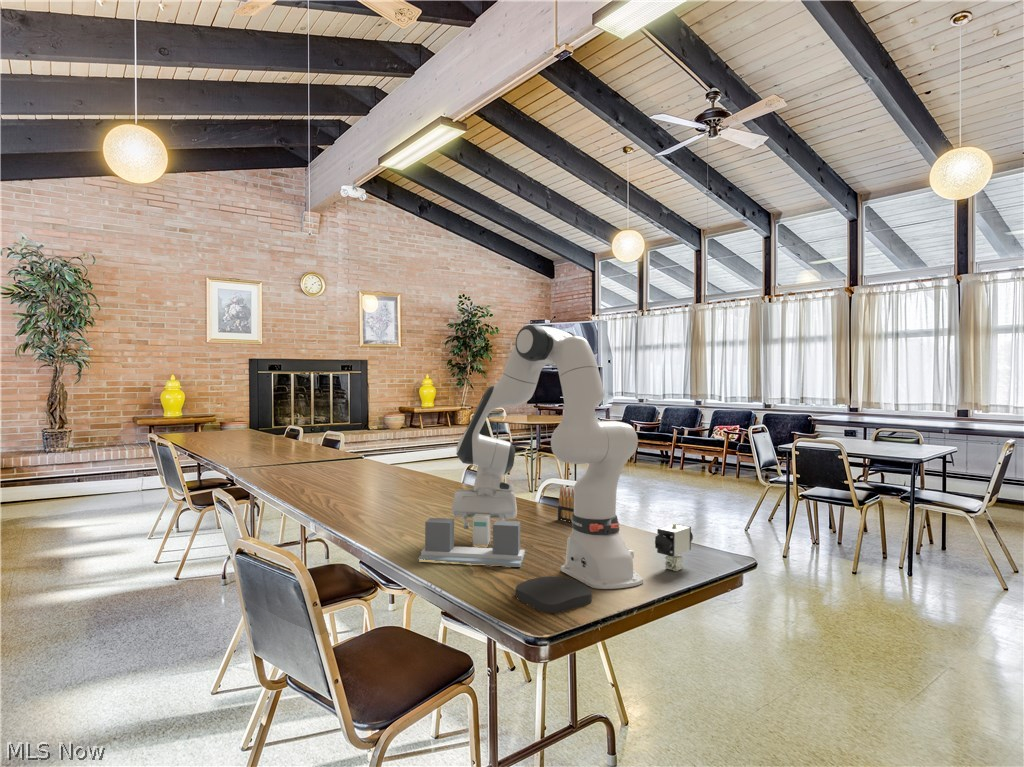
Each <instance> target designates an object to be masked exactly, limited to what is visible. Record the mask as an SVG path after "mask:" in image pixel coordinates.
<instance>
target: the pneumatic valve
mask: <svg viewBox="0 0 1024 767" xmlns="http://www.w3.org/2000/svg"><path fill="white" fill-rule="evenodd" d="M654 538H655V541H654V545H655V547H654V548H655V549H657V550H656V551H657V554H661V555H665V556H664V558H665V562H664V565H665V566H664V568H665V569H666V570H671V571H674V572H675V571H676V572H678V571H681V570H683V569H684V566H683V563H684V557H683V555H682V554H683V553H686V552H688V551H691V549H692V545H691V544H692V542H693V539H694V536H693V532H692V526H687V525H684V524H680V523H672V524H669V525H668V526H667V525H664V526H661V528H658V529H657V535H656V536H655V537H654Z"/></svg>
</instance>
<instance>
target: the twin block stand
mask: <svg viewBox="0 0 1024 767" xmlns="http://www.w3.org/2000/svg"><path fill="white" fill-rule="evenodd" d="M424 524H425V525H424V526H425V529H424V530H425V531H424V532H425V533H424V548H423V549H422V550H421V551H420V555H419V556H418V558H417V560H418V559H423V560H424V559H425V560H435V561H446V562H459V563H471V564H485V565H499V566H511V567H520V566H521V567H522V564H523V561H524V559H523V558H525V556H526V550H525V549H521V521H520V520H519V521H515V520H505V521H499V520H495V521H494V523H492V547H488V548H478V547H473V546H455V518H445V517H444V518H441V517H440V518H439V517H429V518H428V519H427V520H426V521H425V523H424ZM524 555H525V556H524ZM522 560H523V561H522ZM521 563H522V564H521ZM511 567H510V568H511ZM521 567H520V568H521Z"/></svg>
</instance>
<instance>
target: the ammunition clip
mask: <svg viewBox="0 0 1024 767" xmlns="http://www.w3.org/2000/svg"><path fill="white" fill-rule="evenodd" d="M559 488H560V489H559V495H558V496H559V497H558V506H557V520H558V519H562V520H566V521H570V522H572V514H573V513H574V488H572V489H571V488H570V487H568V488H567V487H564V488H563V487H562V486H560V487H559ZM570 522H569V523H570Z"/></svg>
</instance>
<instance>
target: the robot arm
mask: <svg viewBox="0 0 1024 767" xmlns="http://www.w3.org/2000/svg"><path fill="white" fill-rule="evenodd" d="M546 366H551V367H552V368H555V367H556V368H557V372H558V377H559V381H560V386H561V392H562V397H563V405H564V406H563V407H564V408H563V414H562V415H563V416H562V419H561V420H560V422H559V424H558V425H557V427H556V428H554V431H552V434H551V438H550V447H551V452H552V453H553V455H554V457H555V458H556V459H557V460H558V461H559V462H561V463H567V464H574V465H582V464H588V466H587V469H586V471H585V473H584V474H583V475H582V476H581V477H580V478H579V479H577V481H576V482H575V484H574V488H573V489H574V513H573V514H572V523H571V527H572V531H571V533H570V535H568V537H567V540H566V541H567V542H566V550H565V551H566V552H565V563H564V564H563V565H561V566H560V571H561V572H562V573H564V574H566V575H568V576H570V577H572V578H573V579H574V580H575V579H576V581H578V582H580V583H582V584H584V585H585V586H587V587H588V586H589V587H590V588H593V589H599V590H601V589H602V590H615V589H617V590H618V589H624V588H630V587H636V586H639V585H641V584H643V583H644V579H643V577H642V576H641V575H640V574H639V573H638V572H637V571H636V570H635V569H634V558H635V557H634V556H635V553H634V550H633V549H628V546H627V544H626V542H625V541H624V539H623V538H622V535H621V534H620V528H621V527H620V523H619V519H618V516H617V514H616V511H617V506H616V505H617V489H618V485H619V483H618V482H619V479H620V476H621V473H622V471H623V469H624V467H625V465H626V463H627V462H628V460H629V459H630V458H631V457H632V456H633V455H634V454H635V453H636V451H637V448H638V444H639V438H638V433H637V432H636V430H635V428H634V427H633V426H632V425H631V424H629V423H627V422H623V421H619V420H598V421H597V420H596V414H595V412H596V408H598V407H599V406H600V405H601V403H602V402H603V400H604V398H605V389H604V386H603V382H602V378H601V374H600V370H599V366H598V362H597V360H596V356H595V355H594V352H593V349H592V347H591V345H590V343H589V341H588V339H586V338H584V337H583V336H578V335H576V334H574V333H572V332H570V331H564V330H562V329H559V328H556V327H553V326H548V325H547V326H546V325H539V324H527V325H525V326H523V327H521V329H519V331H518V332H517V335H516V337H515V345H514V346H513V348H512V350H511V352H510V354H509V356H508V358H507V361H506V363H505V367H504V369H503V372H502V375H501V378H499V380H498V381H497V383H495V384H494V385H490V386H489V387H488V388H487V389H486V390H485V391H484V394H483V395H482V398H481V399H480V401H479V402H478V404H477V407H476V409H475V411H474V413H473V415H472V417H471V419H470V421H469V423H468V425H467V427H466V429H465V431H464V433H463V435H462V436H460V439H459V440H458V443H457V446H456V452H455V453H456V457H458V459H459V461H460V462H462V463H463V464H466V465H475V466H477V467H476V468H477V469H476V473H477V474H476V477H475V478H474V479H475V480H474V485H473V489H472V488H471V489H470V488H469V489H465V488H461V489H459V490H457V491H455V492H454V496H453V501H452V505H451V513H452V515H453V516H454V517H456V518H461V519H462V521H463V529H464V530H470V525H471V524H470V521H468V518H473V516H474V515H475V514H476V513H482V514H491V519H499V520H498V521H506V520H508V519H509V520H514V519H515V518H516V517H517V515H518V507H517V499H516V492H515V488H514V486H513V484H511V483H507V482H505V481H503V480H502V478H503V476H504V475H506V474H508V473H509V472H510V471H512V469H513V468H514V464H515V456H516V449H515V447H514V445H513V443H511V442H510V441H508V440H504V439H500V438H495V437H492V436H491V437H490V436H488V435H483V434H481V433H480V432H481V430H482V428H483V426H484V424H485V422H486V420H487V419H488V416H489V414H490V413H491V412H492V411H494V410H496V409H499V408H500V409H501V408H505V407H516V406H520V405H523V404H525V403H527V402H528V401H529V400H531V399H532V397H533V395H534V393H535V391H536V388H537V385H538V382H539V378H540V375H541V372H542V370H543V368H544V367H546Z"/></svg>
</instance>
